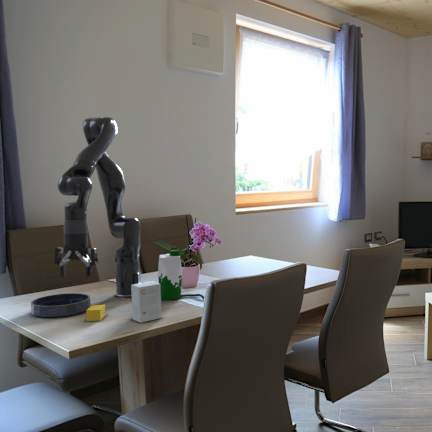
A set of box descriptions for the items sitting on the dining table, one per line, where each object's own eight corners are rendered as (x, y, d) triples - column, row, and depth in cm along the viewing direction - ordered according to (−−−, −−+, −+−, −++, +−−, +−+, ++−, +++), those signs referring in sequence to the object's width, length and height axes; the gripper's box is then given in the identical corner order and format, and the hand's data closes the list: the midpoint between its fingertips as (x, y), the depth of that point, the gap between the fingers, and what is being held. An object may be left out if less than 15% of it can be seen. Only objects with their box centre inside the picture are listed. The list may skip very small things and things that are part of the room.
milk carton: (182, 299, 228) (181, 251, 226) (159, 301, 224) (157, 252, 222) (181, 294, 236) (180, 248, 234) (158, 296, 232) (157, 249, 230)
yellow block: (92, 315, 203) (91, 305, 202) (105, 315, 204) (105, 304, 203) (86, 321, 196) (86, 310, 195) (100, 320, 197) (100, 309, 196)
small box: (153, 314, 205) (152, 280, 204) (162, 318, 201) (161, 283, 200) (131, 319, 199) (130, 284, 198) (140, 323, 195) (139, 287, 194)
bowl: (96, 303, 219) (95, 292, 219) (81, 317, 201) (81, 305, 200) (42, 305, 215) (42, 294, 214) (22, 319, 196) (22, 307, 196)
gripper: (101, 231, 200) (101, 274, 202) (61, 230, 200) (62, 274, 201) (91, 233, 193) (91, 278, 194) (49, 232, 192) (50, 278, 193)
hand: (76, 276), depth 197 cm, fingers open, 8 cm apart
